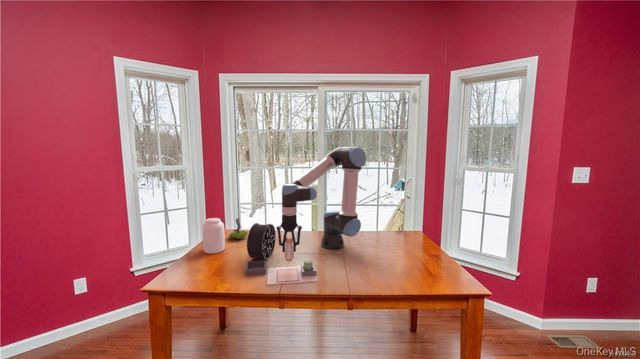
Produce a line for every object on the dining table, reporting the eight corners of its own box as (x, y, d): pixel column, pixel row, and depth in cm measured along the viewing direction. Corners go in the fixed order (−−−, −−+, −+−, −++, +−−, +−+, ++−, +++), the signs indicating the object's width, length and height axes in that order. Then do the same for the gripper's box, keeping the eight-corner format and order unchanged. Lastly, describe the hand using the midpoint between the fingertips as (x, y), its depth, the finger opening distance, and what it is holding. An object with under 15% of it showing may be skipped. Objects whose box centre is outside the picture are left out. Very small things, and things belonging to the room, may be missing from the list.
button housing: (314, 269, 141) (314, 264, 140) (315, 275, 134) (315, 270, 134) (300, 270, 140) (300, 265, 139) (302, 276, 133) (302, 271, 132)
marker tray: (266, 265, 146) (266, 260, 146) (265, 274, 136) (265, 268, 136) (247, 266, 145) (247, 261, 144) (245, 275, 135) (245, 269, 135)
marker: (292, 259, 143) (292, 237, 142) (292, 261, 140) (292, 239, 138) (285, 259, 142) (285, 237, 141) (285, 261, 139) (285, 239, 138)
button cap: (311, 267, 139) (311, 260, 139) (313, 271, 135) (313, 263, 134) (303, 268, 138) (303, 260, 138) (304, 272, 134) (304, 264, 134)
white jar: (207, 255, 159) (206, 223, 156) (200, 249, 168) (199, 218, 166) (228, 250, 167) (227, 219, 164) (220, 245, 176) (219, 215, 174)
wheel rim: (262, 265, 147) (262, 229, 144) (247, 263, 148) (246, 228, 146) (275, 251, 166) (275, 219, 164) (262, 250, 168) (261, 219, 165)
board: (312, 266, 146) (312, 264, 146) (317, 281, 129) (317, 280, 129) (268, 269, 142) (268, 267, 142) (266, 285, 125) (266, 284, 125)
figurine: (231, 235, 196) (230, 215, 194) (249, 234, 197) (248, 214, 195) (226, 241, 182) (226, 220, 180) (246, 241, 183) (245, 219, 181)
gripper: (304, 212, 143) (303, 254, 146) (273, 212, 141) (273, 255, 143) (305, 215, 136) (305, 260, 138) (273, 216, 133) (273, 261, 136)
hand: (289, 257), depth 141 cm, fingers closed on marker, 3 cm apart
